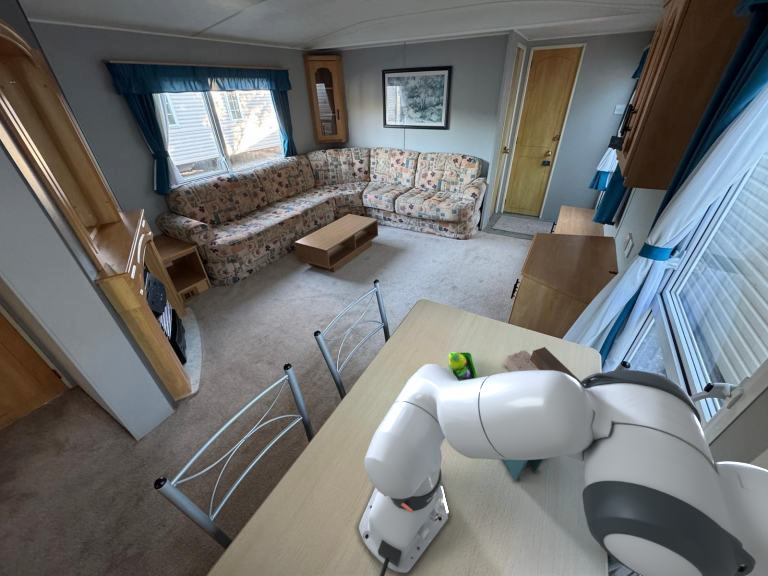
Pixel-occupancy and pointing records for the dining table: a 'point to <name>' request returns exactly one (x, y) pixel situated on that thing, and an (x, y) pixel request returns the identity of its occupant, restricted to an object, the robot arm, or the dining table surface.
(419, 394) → the robot arm
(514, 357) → the brick
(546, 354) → the block
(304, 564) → the dining table surface
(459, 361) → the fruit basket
